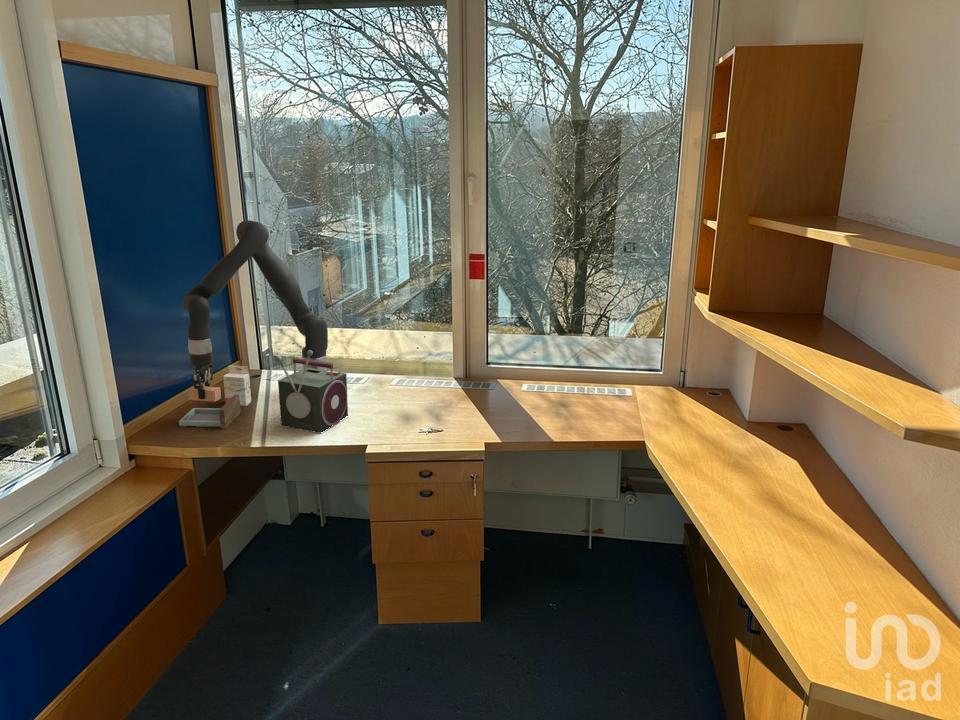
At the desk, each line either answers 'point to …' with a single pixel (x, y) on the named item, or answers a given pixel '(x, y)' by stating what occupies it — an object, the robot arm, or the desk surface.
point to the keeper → (202, 418)
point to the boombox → (312, 396)
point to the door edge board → (230, 411)
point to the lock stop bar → (210, 394)
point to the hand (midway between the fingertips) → (204, 396)
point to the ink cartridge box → (237, 384)
